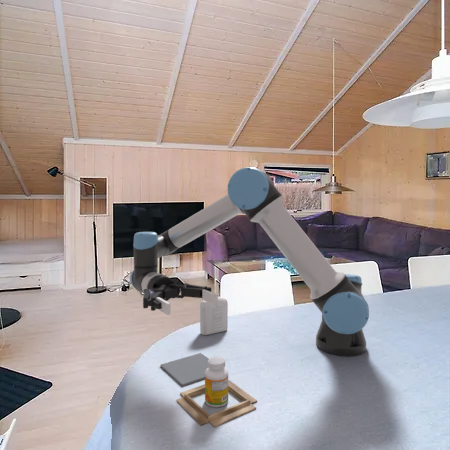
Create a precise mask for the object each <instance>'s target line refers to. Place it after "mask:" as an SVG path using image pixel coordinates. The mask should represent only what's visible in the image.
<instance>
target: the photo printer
mask: <svg viewBox="0 0 450 450" xmlns="http://www.w3.org/2000/svg"><path fill="white" fill-rule="evenodd" d="M199 305H200V307H199V308H200V309H199V310H200V311H199V314H200V315H199V317H200V318H199V322H200V323H199V324H200V326H199V330H200V334H201V335H202V336H207V335H208V336H209V335H214V334H217V333H222V332H226V331H228V323H229V322H228V319H229V317H228V316H229V315H228V312H229V309H228V308H229V307H228V306H229V305H228V299H227V298H226V297H223V296H218V305H213V304H211V303H209V302H207V301H205V300H202V301H201V302H200V304H199Z"/></svg>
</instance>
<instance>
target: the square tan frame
mask: <svg viewBox="0 0 450 450" xmlns="http://www.w3.org/2000/svg"><path fill="white" fill-rule="evenodd" d="M229 391H230V392H231V393H232V394H233V395H235V396H236V397H237V398H239V400H241V401H242V402H238V403H237V404H234V405H231V406H229V407H227V408H225V409H223V410H220V411H217V412H214V413H213V414H209V413H208V412H207V411H206V410H205V409H204V408H203V407H202V406H200V404H199V403H197V401H195V400H194V399H193V398H192V397H194V396H197V395H200V394H202V393H205V383H203V384H202V385H198V386H196V387H193V388H191V389H187V390H185V391H181V392H180V396H181V397H179V398H177V399H176V402H177V403H178V404H179V405H180V406H181V407H182V408H183V409H184V410H185V411H186V412H187V414H189V415H190V416H191V417H192V418H193V419H194V420H195V421H196V422H197V424H198V425H200V426H204V425H206V424H208V423H209V424H210V425H211V426H213V427H214V428H216V427H219V426H220V425H223V424H225V423H227V422H229V421H231V420H234V419H236V418H238V417H240V416H243V415H246V414H247V413H250V412H253V411H254V410H256V409H257V407H256V406H255V405H253V404H254V403H258V400H257V398H255V397H254V396H253V395H250V394H249V393H247V392H246V391H245V390H244V389H242V388H241V387H239V386H238V385H237V384H235V383H234V382H233V381H231V380H230V379H228V392H229Z"/></svg>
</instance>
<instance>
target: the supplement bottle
mask: <svg viewBox="0 0 450 450" xmlns="http://www.w3.org/2000/svg"><path fill="white" fill-rule="evenodd" d="M228 381H229V370H228V369H227V367H226V359H225V358H224V357H221V356H212V357H209V360H208V368H207V369H206V371H205V379H204V384H205V392H204V401H205V404H206V405H207V406H209V407H211V408H221V407H224V406H226V405H227V404H228V402H229V390H228Z"/></svg>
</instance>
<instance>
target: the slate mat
mask: <svg viewBox="0 0 450 450" xmlns="http://www.w3.org/2000/svg"><path fill="white" fill-rule="evenodd" d="M209 359H210V357H207V356H205V354H203V353H201V352H199V353H196V354H192V355H189V356H185V357H182V358H179V359H174V360H172V361H168V362H165V363H161V364H160V367H161V369H163V370H164V371H165V372H166V373H167V374H168V375H170V376H171V377H172V378H173V379H174V380H175V381H176V382H177V383H178V385H180V386H181V387H184V386H188V385H191V384H193V383H196V382H199V381H203V380H205V371H206V369H207V368H208V360H209Z"/></svg>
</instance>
